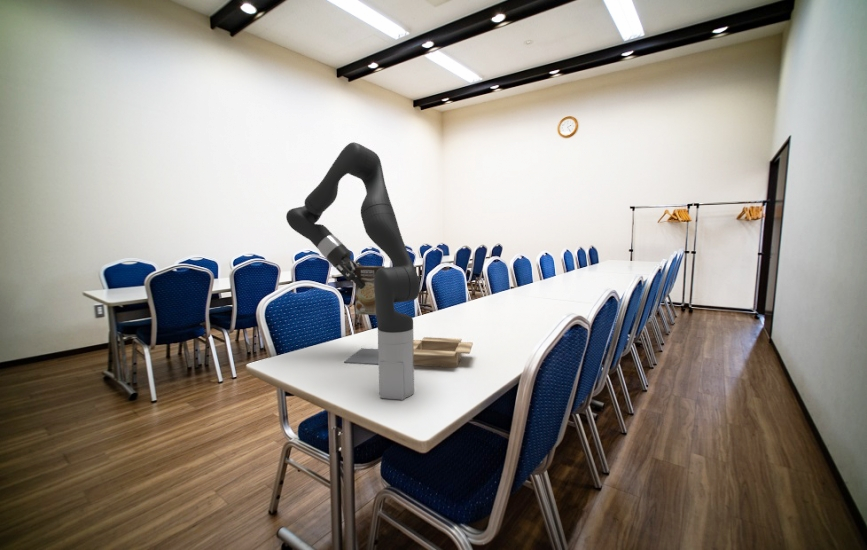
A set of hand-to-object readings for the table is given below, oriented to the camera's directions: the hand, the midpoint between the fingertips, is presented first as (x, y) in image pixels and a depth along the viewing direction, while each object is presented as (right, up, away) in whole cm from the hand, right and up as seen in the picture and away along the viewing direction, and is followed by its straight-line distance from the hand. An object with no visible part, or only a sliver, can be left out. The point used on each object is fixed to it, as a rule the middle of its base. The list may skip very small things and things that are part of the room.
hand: (367, 285), depth 125 cm
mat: (+1, -25, +2) cm, 25 cm away
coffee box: (+1, -10, +1) cm, 10 cm away
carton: (+24, -25, -2) cm, 34 cm away
